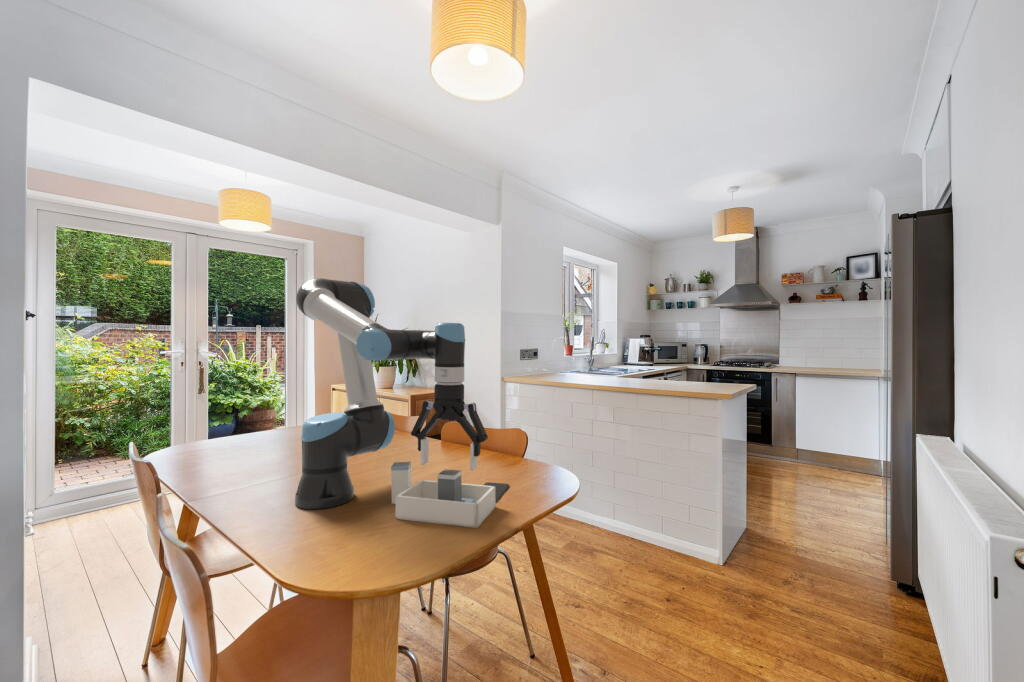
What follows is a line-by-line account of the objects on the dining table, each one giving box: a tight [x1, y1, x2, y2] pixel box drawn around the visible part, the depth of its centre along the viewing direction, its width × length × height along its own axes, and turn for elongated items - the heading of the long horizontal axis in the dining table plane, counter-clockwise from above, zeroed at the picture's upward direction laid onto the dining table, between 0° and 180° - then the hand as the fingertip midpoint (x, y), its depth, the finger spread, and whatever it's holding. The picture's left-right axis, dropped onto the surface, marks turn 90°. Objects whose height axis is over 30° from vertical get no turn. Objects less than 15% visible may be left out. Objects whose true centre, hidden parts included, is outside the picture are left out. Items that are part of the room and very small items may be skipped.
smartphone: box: [483, 482, 510, 503], centre depth 127 cm, size 8×1×16 cm
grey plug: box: [437, 468, 463, 502], centre depth 112 cm, size 5×5×10 cm
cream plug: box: [390, 461, 412, 504], centre depth 121 cm, size 5×5×10 cm
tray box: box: [395, 479, 497, 529], centre depth 112 cm, size 22×14×6 cm, turn 74°
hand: (448, 466), depth 112 cm, fingers open, 13 cm apart
